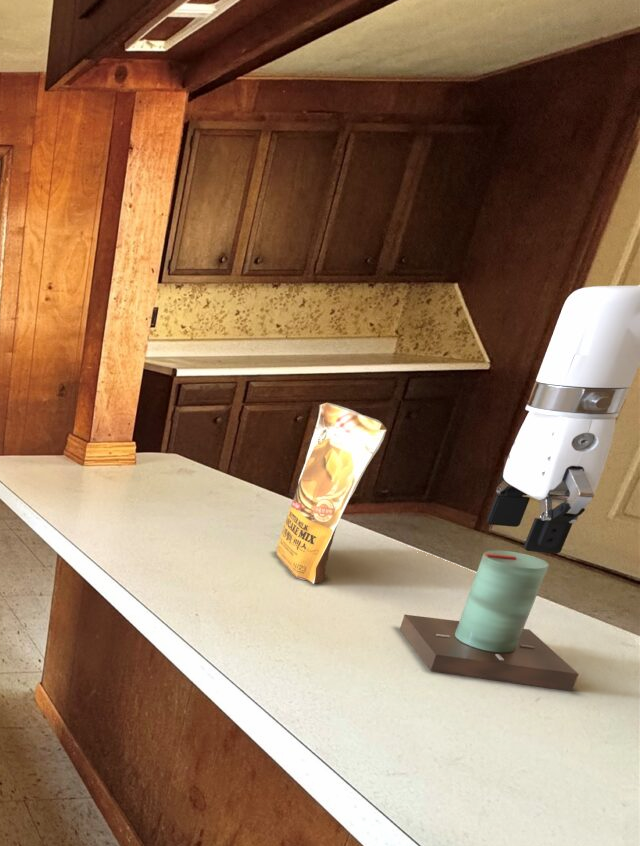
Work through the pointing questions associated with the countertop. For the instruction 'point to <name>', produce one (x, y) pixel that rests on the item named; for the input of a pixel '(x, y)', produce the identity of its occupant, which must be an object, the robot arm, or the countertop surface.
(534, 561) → the mint green cylinder
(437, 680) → the countertop surface
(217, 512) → the countertop surface
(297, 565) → the pancake mix bag
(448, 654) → the dark brown slab
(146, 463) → the countertop surface
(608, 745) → the countertop surface
